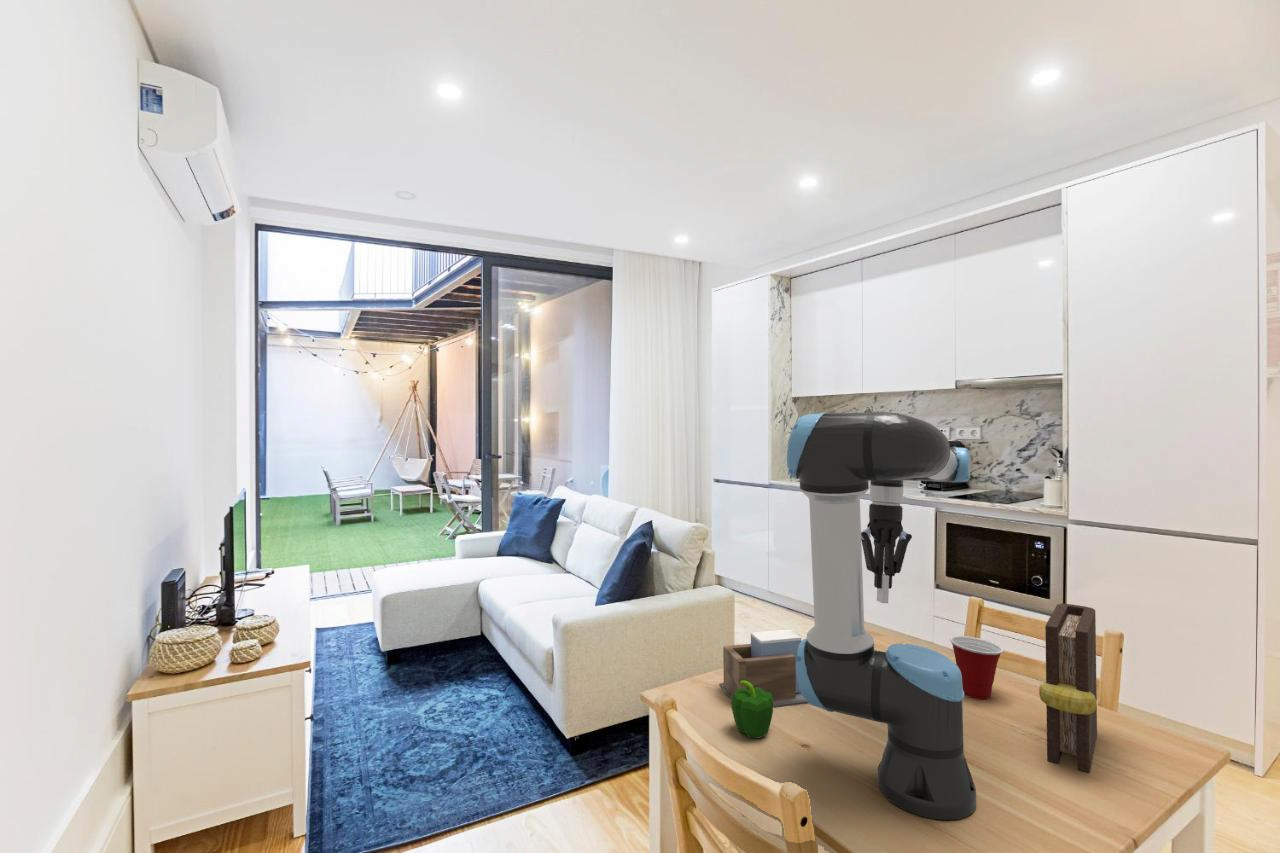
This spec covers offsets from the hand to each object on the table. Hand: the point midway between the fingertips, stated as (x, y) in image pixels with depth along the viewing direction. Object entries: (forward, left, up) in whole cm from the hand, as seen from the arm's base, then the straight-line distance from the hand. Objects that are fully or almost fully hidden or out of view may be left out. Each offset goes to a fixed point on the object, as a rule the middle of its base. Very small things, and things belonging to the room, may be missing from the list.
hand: (882, 601), depth 146 cm
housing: (+2, +28, -20) cm, 35 cm away
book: (-35, -17, -20) cm, 43 cm away
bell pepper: (-14, +39, -20) cm, 46 cm away
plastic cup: (-10, -18, -20) cm, 28 cm away
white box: (+2, +27, -19) cm, 33 cm away
